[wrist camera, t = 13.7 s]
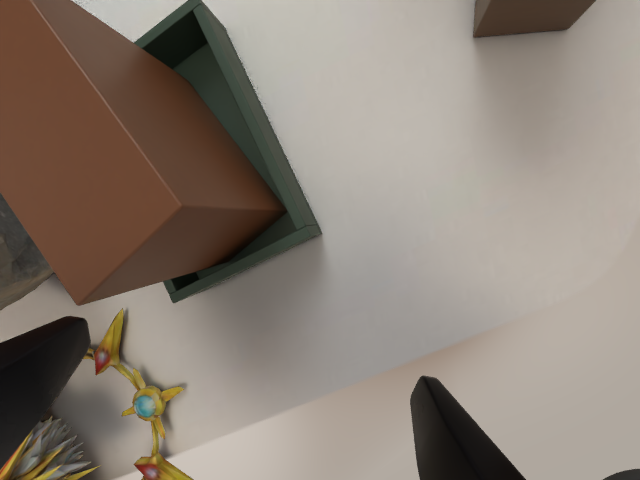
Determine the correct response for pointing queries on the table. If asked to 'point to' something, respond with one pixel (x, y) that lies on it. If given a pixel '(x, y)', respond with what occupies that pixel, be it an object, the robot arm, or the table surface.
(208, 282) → the green tray
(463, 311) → the table surface
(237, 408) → the table surface
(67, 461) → the gold jeweled crown
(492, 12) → the block
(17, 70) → the chocolate box
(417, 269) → the table surface
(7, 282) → the rock
